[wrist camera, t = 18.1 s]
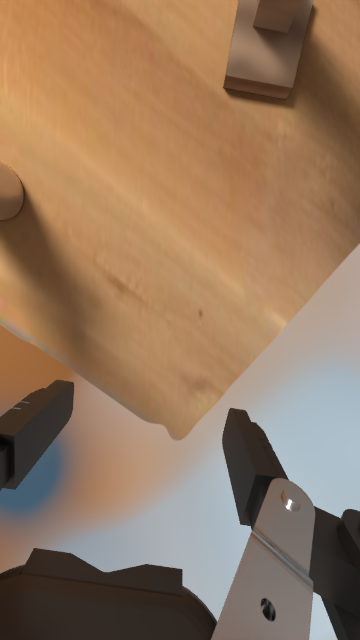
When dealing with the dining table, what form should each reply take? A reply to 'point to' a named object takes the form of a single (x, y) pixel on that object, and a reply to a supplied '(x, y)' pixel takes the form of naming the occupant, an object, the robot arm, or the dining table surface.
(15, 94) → the dining table surface
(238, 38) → the wooden pedestal stand
